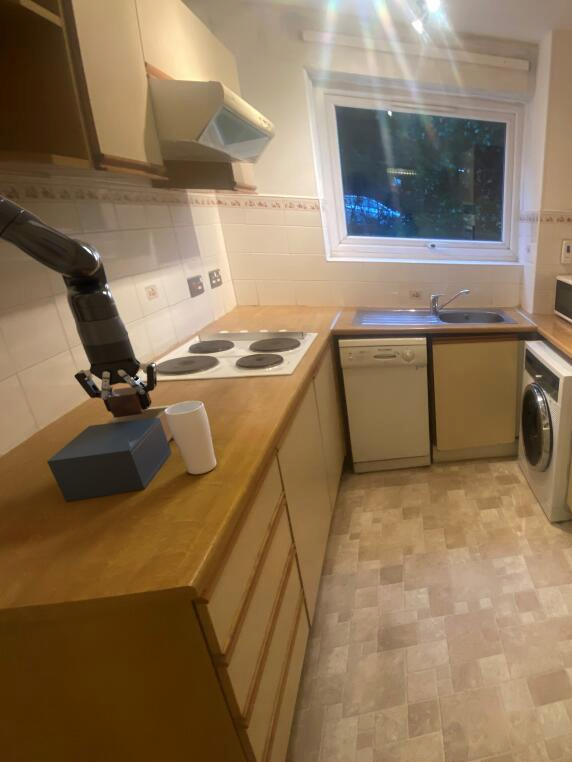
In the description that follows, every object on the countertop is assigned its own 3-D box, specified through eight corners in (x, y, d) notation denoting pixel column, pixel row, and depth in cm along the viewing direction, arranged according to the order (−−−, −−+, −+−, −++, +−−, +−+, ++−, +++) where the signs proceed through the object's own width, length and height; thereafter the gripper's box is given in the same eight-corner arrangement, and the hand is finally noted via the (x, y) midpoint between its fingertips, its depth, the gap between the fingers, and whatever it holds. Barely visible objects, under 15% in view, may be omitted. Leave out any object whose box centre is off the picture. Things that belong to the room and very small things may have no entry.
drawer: (132, 430, 109) (122, 404, 106) (186, 424, 112) (178, 398, 109) (95, 468, 93) (83, 438, 90) (159, 459, 97) (149, 430, 94)
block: (114, 418, 96) (106, 397, 94) (121, 409, 100) (114, 389, 98) (142, 414, 98) (134, 393, 96) (148, 405, 102) (141, 385, 100)
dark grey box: (104, 462, 97) (89, 425, 94) (171, 452, 101) (159, 417, 97) (66, 502, 84) (46, 461, 81) (144, 489, 88) (129, 450, 84)
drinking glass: (180, 480, 91) (158, 416, 85) (189, 463, 97) (169, 403, 91) (217, 473, 93) (199, 411, 88) (224, 457, 99) (206, 398, 93)
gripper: (52, 347, 86) (84, 423, 93) (141, 339, 92) (165, 411, 98) (69, 337, 92) (97, 409, 99) (151, 330, 98) (173, 398, 104)
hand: (131, 409), depth 98 cm, fingers closed on block, 5 cm apart
